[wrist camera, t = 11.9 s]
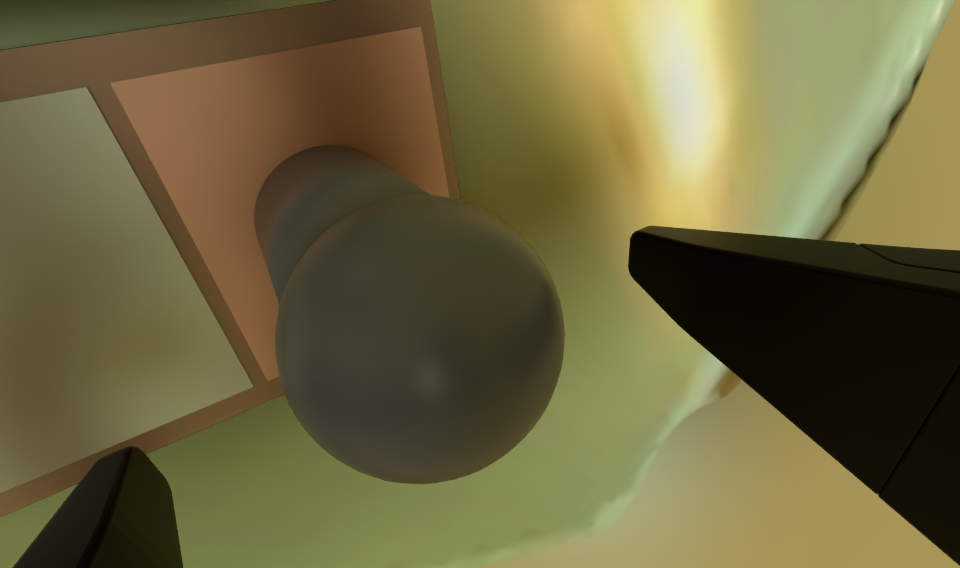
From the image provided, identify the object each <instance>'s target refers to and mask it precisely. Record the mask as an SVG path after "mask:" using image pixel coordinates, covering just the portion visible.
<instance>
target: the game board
mask: <svg viewBox="0 0 960 568" xmlns="http://www.w3.org/2000/svg"><path fill="white" fill-rule="evenodd" d="M323 145H338V146H346V147H350V148H354V149H357V150H360V151H362V152H364V153H366V154H368V155H370V156H372V157H373V158H375V159H377V160H378V161H380V162H381V163H383V164H384V165H386V166H387V167H389V168H390V169H392V170H393V171H395V172H396V173H398V174H399V175H401V176H403V177H404V178H406V179H407V180H409V181H410V182H412V183H413V184H415V185H416V186H418V187H419V188H421V189H422V190H424V191H426V192H427V193H429V194H430V195H436V196H443V197H448V198H453V199H458V200H461V199H460V192H459V186H458V179H457V173H456V166H455V160H454V153H453V146H452V140H451V133H450V127H449V120H448V114H447V107H446V101H445V94H444V88H443V81H442V75H441V68H440V62H439V55H438V49H437V42H436V36H435V29H434V23H433V16H432V10H431V3H430V0H334V1H328V2H321V3H314V4H307V5H301V6H294V7H287V8H280V9H274V10H267V11H260V12H253V13H247V14H240V15H233V16H226V17H220V18H213V19H206V20H199V21H193V22H186V23H179V24H172V25H165V26H159V27H152V28H145V29H138V30H132V31H125V32H118V33H111V34H105V35H98V36H91V37H84V38H78V39H71V40H64V41H57V42H51V43H44V44H37V45H30V46H24V47H17V48H10V49H3V50H0V517H2V516H5V515H7V514H9V513H12V512H14V511H16V510H18V509H21V508H23V507H25V506H28V505H30V504H32V503H35V502H37V501H39V500H41V499H44V498H46V497H48V496H51V495H53V494H55V493H58V492H60V491H62V490H64V489H67V488H69V487H71V486H74V485H76V484H78V483H79V482H80V481H81V480H82V479H83V477H84V476H85V475H86V473H87V472H88V471H89V470H90V468H91V467H92V466H93V465H94V463H95V462H96V461H97V460H98V459H100V458H101V457H103V456H105V455H108V454H110V453H113V452H115V451H117V450H120V449H122V448H124V447H127V446H137V447H138V448H140V449H141V450H142V451H143V452H144V453H145V454H147V453H150V452H152V451H154V450H156V449H159V448H161V447H163V446H166V445H168V444H170V443H173V442H175V441H177V440H179V439H182V438H184V437H186V436H189V435H191V434H193V433H196V432H198V431H200V430H203V429H205V428H207V427H209V426H212V425H214V424H216V423H219V422H221V421H223V420H226V419H228V418H230V417H232V416H235V415H237V414H239V413H242V412H244V411H246V410H249V409H251V408H253V407H255V406H258V405H260V404H262V403H265V402H267V401H269V400H272V399H274V398H276V397H278V396H281V395H283V394H285V393H284V390H283V387H282V384H281V381H280V379H279V374H278V368H277V362H276V354H275V328H276V322H277V316H278V310H279V303H278V300H277V297H276V294H275V291H274V288H273V285H272V282H271V279H270V275H269V272H268V269H267V266H266V263H265V260H264V257H263V254H262V251H261V248H260V245H259V241H258V238H257V235H256V231H255V225H254V211H255V204H256V200H257V197H258V194H259V191H260V189H261V187H262V185H263V183H264V182H265V180H266V179H267V177H268V176H269V174H270V173H271V172H272V171H273V170H274V169H275V168H276V167H277V166H278V165H279V164H280V163H281V162H283V161H284V160H285V159H287V158H289V157H290V156H292V155H293V154H296V153H298V152H300V151H302V150H305V149H308V148H312V147H317V146H323Z"/></svg>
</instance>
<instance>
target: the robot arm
mask: <svg viewBox="0 0 960 568" xmlns="http://www.w3.org/2000/svg"><path fill="white" fill-rule="evenodd" d="M628 268H629V272H630V275H631V276H632V278H633V279H634V280H635V281H636V282H637V283H638V284H639V285H640V286H641V287H642V288H643V289H644V290H645V291H646V292H647V293H648V294H649V295H650V296H651V297H652V299H653V300H654V301H655V302H656V303H657V304H658V305H659V306H660V307H661V308H662V309H663V310H664V311H665V312H666V313H667V314H668V315H669V316H670V317H671V318H672V319H673V320H674V321H675V322H676V323H677V324H678V325H679V326H680V327H681V328H682V329H683V330H684V331H686V332H687V333H688V334H689V335H690V336H691V337H692V338H694V339H695V340H696V341H697V342H698V343H699V344H701V345H702V346H703V347H704V348H705V349H707V350H708V351H709V352H710V353H711V354H712V355H714V356H715V357H716V358H717V359H718V360H719V361H721V362H722V363H723V364H724V365H725V366H726V367H728V368H729V369H730V370H731V371H732V372H733V373H735V374H736V375H737V376H738V377H739V378H741V379H742V380H743V381H744V382H745V383H746V384H748V385H749V386H750V387H751V388H753V389H754V390H755V391H756V392H757V393H758V394H760V396H762V397H763V398H764V399H765V400H766V401H768V402H769V403H770V404H771V405H772V406H774V407H775V408H776V409H777V410H778V411H780V412H781V413H782V414H783V415H784V416H785V417H786V418H788V419H789V420H790V421H791V422H792V423H793V424H795V425H796V426H797V427H798V428H799V429H800V430H802V431H803V432H804V433H805V434H806V435H808V436H809V437H810V438H811V439H812V440H813V441H814V442H816V443H817V444H818V445H819V446H821V447H822V448H823V449H824V450H825V451H826V452H827V453H829V454H830V455H831V456H832V457H833V458H834V459H836V460H837V461H838V462H839V463H840V464H842V465H843V466H844V467H845V468H846V469H847V470H849V471H850V472H851V473H852V474H853V475H854V476H856V477H857V478H858V479H859V480H860V481H862V482H863V483H864V484H865V485H866V486H867V487H868V488H870V489H871V490H872V491H873V492H874V493H876V494H878V496H879V497H880V498H881V499H882V500H883V501H884V502H885V503H887V504H888V505H889V506H890V507H891V508H893V509H894V510H895V511H896V512H897V513H898V514H899V515H901V516H902V517H903V518H904V519H906V520H907V521H908V522H909V523H910V524H911V525H912V526H914V527H915V528H916V529H917V530H918V531H919V532H921V533H922V534H923V535H924V536H925V537H926V538H928V539H929V540H930V541H931V542H932V543H934V544H935V545H936V546H937V547H938V548H939V549H941V550H942V551H943V552H944V553H945V554H946V555H948V556H949V557H950V558H951V559H952V560H953V561H955V562H956V563H957V564H958V565H959V566H960V251H957V250H941V249H924V248H910V247H897V246H884V245H872V244H859V245H858V244H856V243H847V242H836V241H825V240H813V239H801V238H790V237H778V236H766V235H755V234H743V233H731V232H720V231H708V230H696V229H685V228H673V227H661V226H647V227H645V228H642V229H640V230H638V231H635V232H634V233H633V234H632V236H631V238H630V248H629V262H628ZM13 568H183V563H182V556H181V550H180V543H179V537H178V530H177V524H176V517H175V511H174V504H173V498H172V492H171V489H170V486H169V484H168V482H167V480H166V478H165V477H164V476H163V475H162V473H161V472H160V471H159V470H158V469H157V467H156V466H155V465H154V464H153V463H152V462H151V460H150V459H149V458H148V457H147V456H146V454H145V453H144V452H143V451H142V450H141V449H140V448H138V447H137V446H127V447H124V448H122V449H120V450H117V451H115V452H113V453H110V454H108V455H105V456H103V457H101V458H100V459H98V460H97V461H96V462H95V463H94V465H93V466H92V467H91V468H90V470H89V471H88V472H87V473H86V475H85V476H84V477H83V479H82V480H81V481H80V482H79V484H78V485H77V486H76V487H75V489H74V490H73V491H72V493H71V494H70V495H69V496H68V498H67V499H66V500H65V501H64V503H63V504H62V505H61V507H60V508H59V509H58V510H57V512H56V513H55V514H54V516H53V517H52V518H51V519H50V521H49V522H48V523H47V524H46V526H45V527H44V528H43V530H42V531H41V532H40V533H39V535H38V536H37V537H36V538H35V540H34V541H33V542H32V544H31V545H30V546H29V547H28V549H27V550H26V551H25V552H24V554H23V555H22V556H21V558H20V559H19V560H18V561H17V563H16V564H15V565H14V567H13Z"/></svg>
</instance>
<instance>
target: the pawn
mask: <svg viewBox="0 0 960 568" xmlns="http://www.w3.org/2000/svg"><path fill="white" fill-rule="evenodd" d="M254 225H255V231H256V235H257V238H258V241H259V245H260V248H261V251H262V254H263V257H264V260H265V263H266V266H267V269H268V272H269V275H270V279H271V282H272V285H273V288H274V291H275V294H276V297H277V300H278V303H279V310H278V316H277V322H276V328H275V354H276V362H277V368H278V374H279V379H280V381H281V384H282V387H283V390H284V393H285V395H286V398H287V400H288V403H289V405H290V407H291V409H292V410H293V412H294V414H295V415H296V417H297V419H298V420H299V422H300V423H301V425H302V426H303V427H304V429H305V430H306V431H307V432H308V434H309V435H310V436H311V437H312V438H313V439H314V441H316V442H317V443H318V444H319V445H320V446H321V447H322V448H323V449H324V450H325V451H327V452H328V453H329V454H330V455H332V456H333V457H334V458H335V459H337V460H339V461H341V462H342V463H344V464H346V465H347V466H349V467H351V468H353V469H355V470H357V471H358V472H361V473H363V474H366V475H369V476H372V477H375V478H379V479H382V480H385V481H391V482H396V483H408V484H431V483H438V482H443V481H448V480H453V479H457V478H461V477H464V476H467V475H470V474H472V473H475V472H477V471H479V470H481V469H483V468H485V467H487V466H489V465H490V464H492V463H494V462H495V461H497V460H498V459H500V458H501V457H503V456H504V455H505V454H507V453H508V452H509V451H510V450H512V449H513V448H514V447H515V446H516V445H517V444H518V443H519V442H520V441H521V440H522V439H523V438H524V437H525V436H526V435H527V434H528V433H529V432H530V431H531V430H532V428H533V427H534V426H535V424H536V423H537V422H538V420H539V419H540V417H541V416H542V414H543V413H544V411H545V409H546V408H547V406H548V404H549V402H550V400H551V397H552V395H553V392H554V390H555V387H556V384H557V381H558V378H559V375H560V371H561V367H562V361H563V352H564V336H565V334H564V323H563V315H562V308H561V304H560V300H559V297H558V294H557V291H556V288H555V285H554V283H553V280H552V278H551V275H550V274H549V272H548V270H547V268H546V267H545V265H544V263H543V262H542V260H541V258H540V257H539V255H538V254H537V252H536V251H535V250H534V249H533V248H532V246H531V245H530V244H529V243H528V242H527V241H526V240H525V239H524V238H523V236H522V235H521V234H520V233H519V232H518V231H516V230H515V229H514V228H513V227H511V226H510V225H509V224H508V223H506V222H505V221H503V220H502V219H501V218H499V217H498V216H496V215H494V214H492V213H491V212H489V211H487V210H485V209H483V208H481V207H478V206H476V205H473V204H471V203H468V202H465V201H462V200H458V199H453V198H448V197H443V196H436V195H430V194H429V193H427V192H426V191H424V190H422V189H421V188H419V187H418V186H416V185H415V184H413V183H412V182H410V181H409V180H407V179H406V178H404V177H403V176H401V175H399V174H398V173H396V172H395V171H393V170H392V169H390V168H389V167H387V166H386V165H384V164H383V163H381V162H380V161H378V160H377V159H375V158H373V157H372V156H370V155H368V154H366V153H364V152H362V151H360V150H357V149H354V148H350V147H346V146H338V145H323V146H317V147H312V148H308V149H305V150H302V151H300V152H298V153H296V154H293V155H292V156H290V157H289V158H287V159H285V160H284V161H283V162H281V163H280V164H279V165H278V166H277V167H276V168H275V169H274V170H273V171H272V172H271V173H270V174H269V176H268V177H267V179H266V180H265V182H264V183H263V185H262V187H261V189H260V191H259V194H258V197H257V200H256V204H255V211H254Z"/></svg>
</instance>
